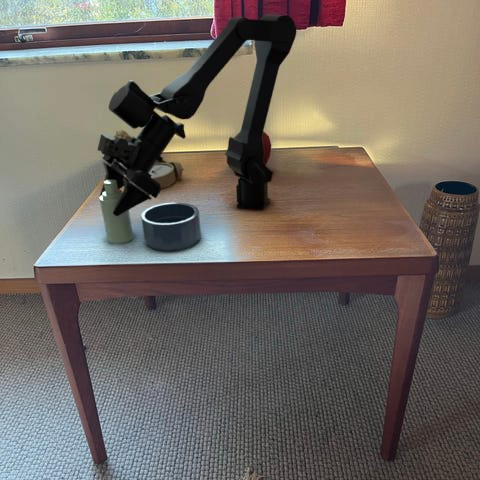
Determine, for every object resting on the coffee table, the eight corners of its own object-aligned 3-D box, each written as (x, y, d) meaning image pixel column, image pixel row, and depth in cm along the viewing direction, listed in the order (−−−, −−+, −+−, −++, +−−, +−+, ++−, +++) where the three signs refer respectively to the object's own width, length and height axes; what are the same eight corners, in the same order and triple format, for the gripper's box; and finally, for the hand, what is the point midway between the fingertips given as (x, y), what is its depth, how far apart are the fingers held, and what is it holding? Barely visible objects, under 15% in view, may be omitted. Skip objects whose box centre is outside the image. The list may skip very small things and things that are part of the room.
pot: (209, 231, 110) (207, 205, 106) (187, 255, 101) (184, 227, 97) (161, 226, 113) (157, 200, 110) (135, 249, 104) (130, 221, 101)
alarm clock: (122, 174, 135) (161, 150, 143) (127, 191, 138) (165, 167, 146) (151, 182, 129) (190, 156, 137) (156, 200, 132) (194, 173, 140)
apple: (241, 164, 148) (239, 122, 141) (276, 167, 144) (276, 124, 138) (226, 176, 139) (224, 132, 133) (263, 179, 136) (263, 134, 129)
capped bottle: (136, 232, 111) (127, 176, 104) (129, 243, 106) (119, 186, 99) (112, 232, 111) (101, 177, 104) (104, 243, 107) (92, 186, 100)
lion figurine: (113, 161, 155) (108, 130, 150) (128, 157, 158) (123, 127, 153) (140, 171, 146) (135, 138, 141) (155, 166, 149) (151, 134, 144)
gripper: (103, 109, 104) (61, 173, 106) (135, 127, 90) (86, 200, 92) (145, 142, 111) (106, 202, 113) (181, 163, 98) (135, 230, 99)
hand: (107, 207), depth 104 cm, fingers open, 9 cm apart
